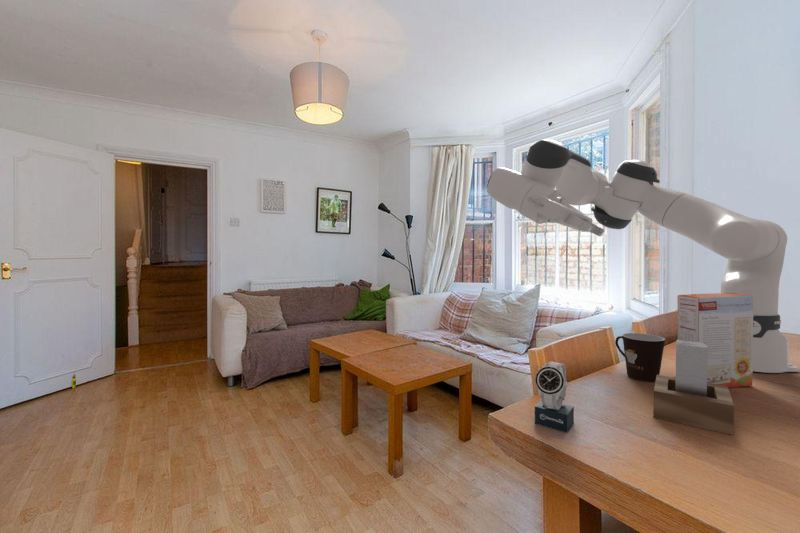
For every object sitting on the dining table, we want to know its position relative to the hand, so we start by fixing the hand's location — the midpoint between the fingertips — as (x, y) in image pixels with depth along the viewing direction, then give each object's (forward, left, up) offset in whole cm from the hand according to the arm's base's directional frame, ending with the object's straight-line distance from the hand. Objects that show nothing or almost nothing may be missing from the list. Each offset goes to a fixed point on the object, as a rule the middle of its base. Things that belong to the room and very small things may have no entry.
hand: (596, 231), depth 78 cm
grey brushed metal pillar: (+2, +16, -35) cm, 39 cm away
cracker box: (-21, +21, -36) cm, 46 cm away
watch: (+21, -3, -36) cm, 41 cm away
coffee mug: (-18, +7, -36) cm, 41 cm away
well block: (+2, +16, -35) cm, 39 cm away
